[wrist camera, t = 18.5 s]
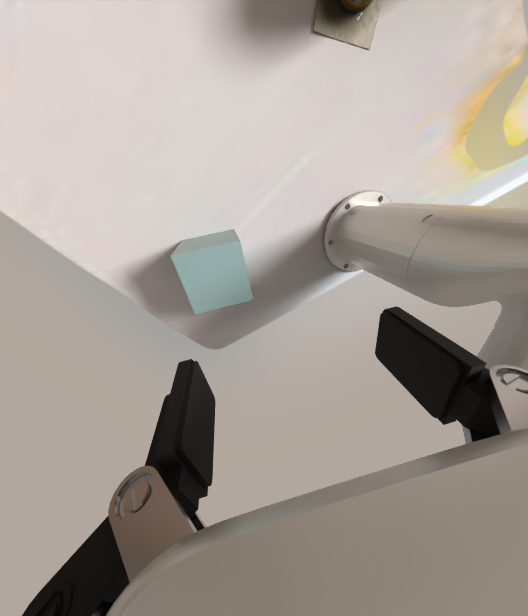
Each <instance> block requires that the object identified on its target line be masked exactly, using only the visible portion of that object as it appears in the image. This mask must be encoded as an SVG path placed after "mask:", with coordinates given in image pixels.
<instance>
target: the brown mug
mask: <svg viewBox="0 0 528 616" xmlns="http://www.w3.org/2000/svg"><path fill="white" fill-rule="evenodd" d="M380 4H381V0H317V8H316V17H315V24H314V31H316V32H319V33H321V34H323V35H326V36H329V37H332V38H334V39H338V40H341V41H344V42H347V43H351V44H354V45H357V46H360V47H364V48H368V49H370V48H371V43H372V40H373V35H374V30H375V26H376V22H377V17H378V13H379V9H380ZM362 12H364V13H363V15H362V16H360V14H361V13H362ZM358 16H360V19H359V20H358V21H357V18H358Z"/></svg>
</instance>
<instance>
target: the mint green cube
mask: <svg viewBox="0 0 528 616" xmlns="http://www.w3.org/2000/svg"><path fill="white" fill-rule="evenodd" d="M171 259H172V261H173V263H174V266H175V268H176V271H177V273H178V275H179V278H180V280H181V283H182V285H183V287H184V290H185V292H186V295H187V297H188V299H189V302H190V304H191V306H192V309H193V311H194V314H195V315H196V314H200V313H204V312H208V311H212V310H216V309H220V308H224V307H228V306H232V305H236V304H240V303H243V302H247V301H251V300H253V295H252V291H251V287H250V282H249V278H248V274H247V269H246V265H245V261H244V256H243V252H242V248H241V243H240V240H239V238H238V236H237V234H236V232H235V230H234V229H233V230H228V231H224V232H219V233H215V234H210V235H206V236H201V237H197V238H192V239H187V240H183V241H181V243H180V244H179V245H178V247H177V248H176V249H175V251H174V252H173V253H172V254H171Z"/></svg>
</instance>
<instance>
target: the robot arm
mask: <svg viewBox="0 0 528 616" xmlns="http://www.w3.org/2000/svg"><path fill="white" fill-rule="evenodd" d="M324 247H325V252H326V254H327V257H328V258H329V260H330V261H331V262H332V263H333V264H334V265H335V266H337V267H338V268H340V269H342V270H346V271H358V270H361V269H363V270H365V271H367V272H369V273H372V274H373V275H375V276H377V277H379V278H382V279H383V280H385V281H388V282H389V283H391V284H393V285H395V286H397V287H400V288H402V289H404V290H406V291H408V292H410V293H412V294H414V295H416V296H418V297H420V298H422V299H424V300H426V301H429V302H431V303H434V304H437V305H442V306H448V307H462V306H470V305H475V304H480V303H485V302H490V301H498V302H499V303H500V304H501V306H502V310H501V314H500V315H499V317H498V320H497V321H496V323H495V326H494V329H493V330H492V332H491V334H490V336H489V337H488V339H487V340H486V342H485V344H484V345H483V347H482V349H481V350H480V352H479V353H478V355H477V357H476V356H475V355H473V354H472V353H470V352H468V351H467V350H465V349H464V348H462V347H460V346H459V345H457V344H456V343H454V342H453V341H451V340H450V339H448V338H446V337H445V336H443V335H442V334H440V333H438V332H437V331H435V330H434V329H432V328H431V327H429V326H427V325H426V324H424V323H423V322H421V321H420V320H418V319H416V318H415V317H413V316H412V315H410V314H409V313H407V312H405V311H404V310H402V309H401V308H399V307H393V308H388V309H385V310H384V311H383V313H382V314H381V315H380V322H379V329H378V336H377V343H376V350H375V354H376V357H377V358H378V360H379V361H380V362H381V363H382V364H383V365H384V366H385V367H386V368H387V369H388V370H389V371H390V372H391V373H392V374H393V376H394V377H395V378H396V379H397V380H398V381H399V382H400V383H401V384H402V385H403V386H404V387H405V388H406V389H407V390H408V391H409V392H410V393H411V395H412V396H413V397H414V398H415V399H416V400H417V401H418V402H419V403H420V404H421V405H422V406H423V407H424V408H425V409H426V410H427V411H428V412H429V414H431V415H432V416H433V417H435V418H438V419H439V420H440V421H441V422H442V424H443V425H445V424H448V423H451V422H455V421H456V419H457V420H458V421H459V422H460V423H461V424H462V427H463V432H464V436H465V441H466V444H465V445H462V446H458V447H455V448H452V449H448V450H445V451H442V452H439V453H436V454H432V455H429V456H426V457H422V458H419V459H416V460H412V461H409V462H406V463H403V464H399V465H396V466H393V467H390V468H387V469H383V470H380V471H377V472H374V473H370V474H367V475H364V476H361V477H358V478H354V479H351V480H348V481H345V482H341V483H338V484H335V485H332V486H328V487H326V488H322V489H319V490H316V491H313V492H310V493H307V494H303V495H300V496H297V497H294V498H291V499H287V500H284V501H281V502H278V503H275V504H271V505H269V506H265V507H262V508H259V509H256V510H253V511H250V512H248V513H245V514H242V515H239V516H236V517H233V518H230V519H227V520H224V521H221V522H219V523H216V524H214V525H211V526H209V527H206V526H205V524H204V523H203V521H202V520H201V518H200V517H199V515H198V514H197V512H196V511H197V510H198V504H199V498H202V497H206V496H207V492H208V486H211V484H212V475H213V449H214V423H215V398H214V395H213V393H212V391H211V389H210V386H209V385H208V382H207V380H206V378H205V376H204V374H203V372H202V370H201V368H200V366H199V364H198V362H197V361H193V360H192V359H190V360H186V361H182V362H179V364H178V367H177V371H176V374H175V378H174V382H173V386H172V389H171V393H170V394H169V395H167V396H166V397H165V399H164V402H163V405H162V409H161V412H160V416H159V419H158V423H157V426H156V429H155V433H154V436H153V440H152V443H151V446H150V450H149V454H148V457H147V460H146V464H145V466H143V467H140V468H138V469H136V470H134V471H133V472H132V473H130V474H129V475H128V476H127V477H126V478H125V479H124V480H123V481H122V482H121V483H120V485H119V486H118V488H117V489H116V491H115V493H114V495H113V497H112V499H111V502H110V506H109V511H108V513H109V515H108V517H107V518H106V519H105V520H104V521H103V522H102V523H101V524H100V525H99V527H98V528H97V529H96V530H95V531H94V532H93V533H92V534H91V536H90V537H89V538H88V539H87V540H86V541H85V542H84V543H83V544H82V545H81V547H80V548H79V549H78V550H77V551H76V552H75V553H74V554H73V555H72V556H71V558H70V559H69V560H68V561H67V562H66V563H65V564H64V565H63V566H62V568H61V569H60V570H59V571H58V572H57V573H56V574H55V575H54V576H53V578H52V579H51V580H50V581H49V582H48V583H47V584H46V585H45V586H44V587H43V588H42V590H41V591H40V592H39V593H38V594H37V596H36V597H35V598H34V599H33V601H32V602H31V603H30V604H29V606H28V607H27V609H26V610H25V612H24V614H23V615H22V616H528V207H498V206H467V205H438V204H410V203H392V201H391V200H390V198H389V197H387V196H386V195H385V194H383V193H381V192H379V191H372V190H370V191H361V192H357V193H355V194H353V195H351V196H349V197H348V198H346V199H345V200H344V201H343V202H342V203H341V204H340V205H339V206H338V207H337V208H336V209H335V211H334V212H333V213H332V215H331V217H330V219H329V221H328V223H327V226H326V229H325V235H324Z"/></svg>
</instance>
